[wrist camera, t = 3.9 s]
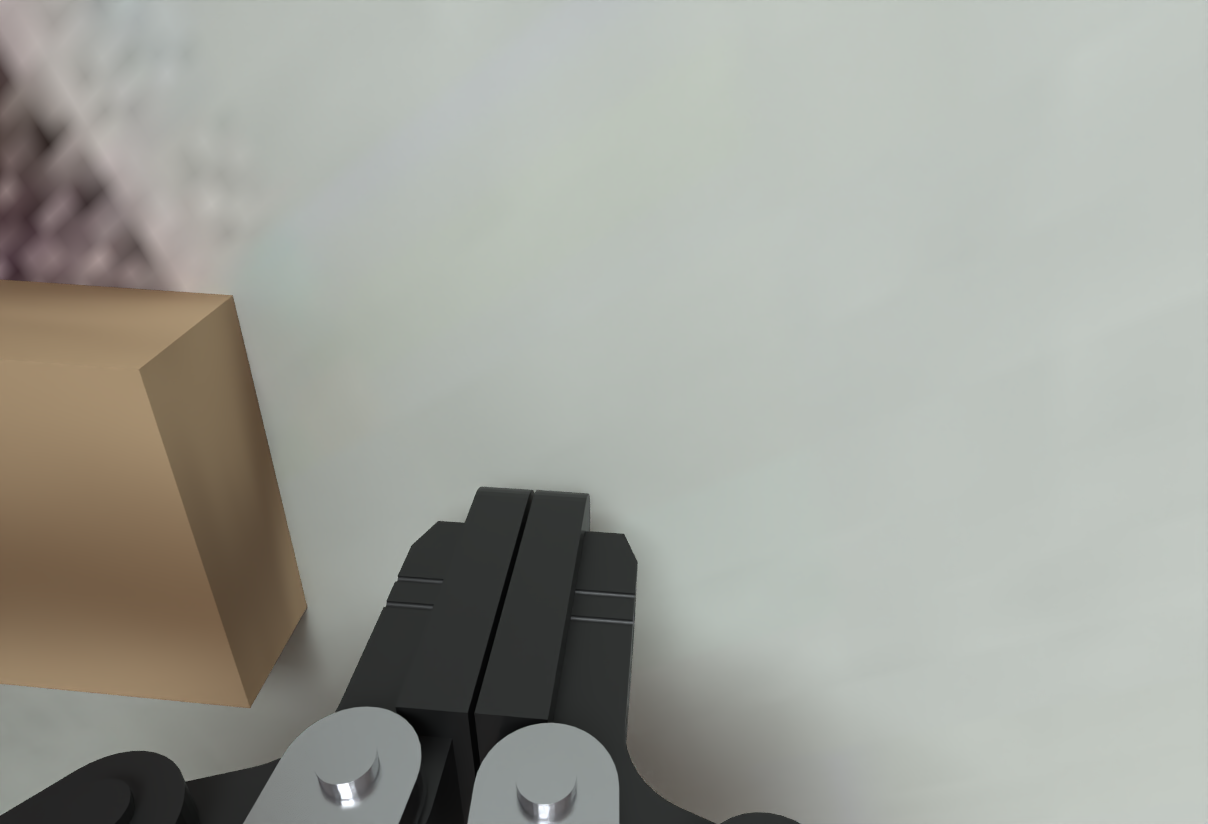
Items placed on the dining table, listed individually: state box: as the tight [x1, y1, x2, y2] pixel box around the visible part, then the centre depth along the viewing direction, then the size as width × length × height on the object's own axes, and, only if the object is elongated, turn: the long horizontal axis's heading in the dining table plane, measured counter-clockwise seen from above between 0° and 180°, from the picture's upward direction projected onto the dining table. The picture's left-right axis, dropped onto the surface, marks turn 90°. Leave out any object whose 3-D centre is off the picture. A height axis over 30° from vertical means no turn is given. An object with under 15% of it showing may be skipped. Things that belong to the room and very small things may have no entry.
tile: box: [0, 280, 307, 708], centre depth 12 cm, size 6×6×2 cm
